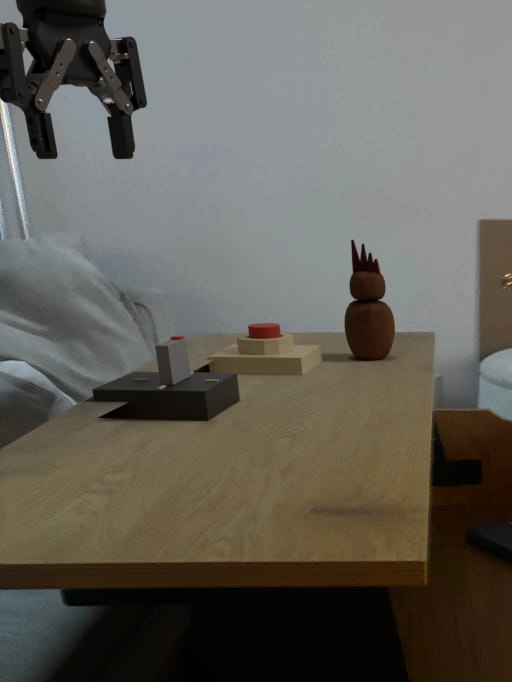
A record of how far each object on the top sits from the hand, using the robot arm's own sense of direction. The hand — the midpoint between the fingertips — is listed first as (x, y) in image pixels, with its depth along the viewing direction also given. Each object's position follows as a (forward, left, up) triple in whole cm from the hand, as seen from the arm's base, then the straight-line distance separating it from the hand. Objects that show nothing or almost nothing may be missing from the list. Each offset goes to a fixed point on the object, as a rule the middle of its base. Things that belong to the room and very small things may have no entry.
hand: (86, 159), depth 93 cm
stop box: (+6, +28, -24) cm, 38 cm away
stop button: (+6, +28, -21) cm, 36 cm away
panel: (+3, +3, -24) cm, 25 cm away
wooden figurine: (+18, +36, -24) cm, 47 cm away
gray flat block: (+4, +3, -21) cm, 22 cm away
